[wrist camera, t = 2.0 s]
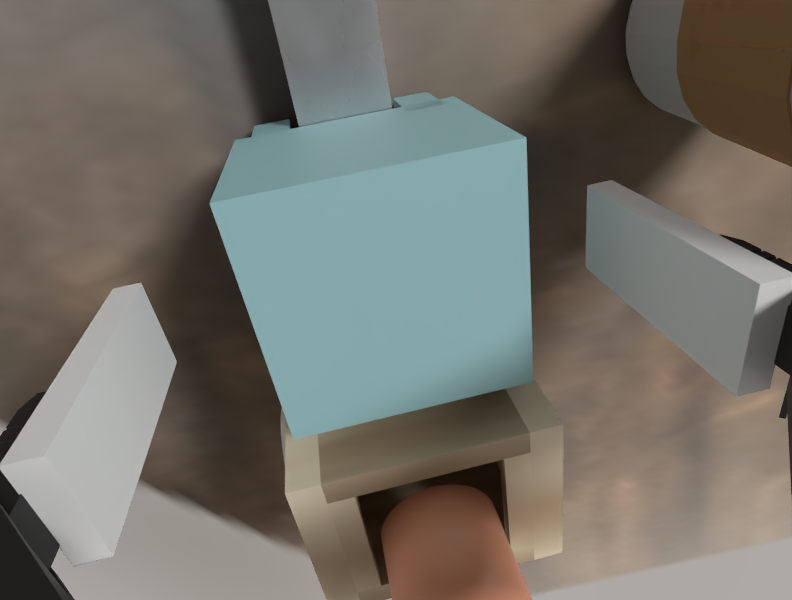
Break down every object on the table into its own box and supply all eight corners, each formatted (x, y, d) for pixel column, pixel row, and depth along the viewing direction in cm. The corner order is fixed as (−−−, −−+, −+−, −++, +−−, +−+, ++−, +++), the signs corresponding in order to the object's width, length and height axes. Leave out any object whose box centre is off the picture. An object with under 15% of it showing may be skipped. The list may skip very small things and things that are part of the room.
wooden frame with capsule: (277, 324, 22) (270, 497, 14) (470, 280, 23) (563, 424, 15) (311, 428, 25) (320, 616, 17) (480, 387, 26) (562, 552, 18)
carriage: (239, 128, 18) (209, 203, 11) (440, 88, 18) (526, 137, 12) (292, 304, 21) (293, 440, 15) (459, 266, 22) (533, 381, 15)
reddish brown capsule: (371, 502, 15) (388, 605, 13) (491, 471, 15) (532, 566, 13) (391, 575, 17) (409, 677, 14) (498, 547, 17) (535, 643, 15)
